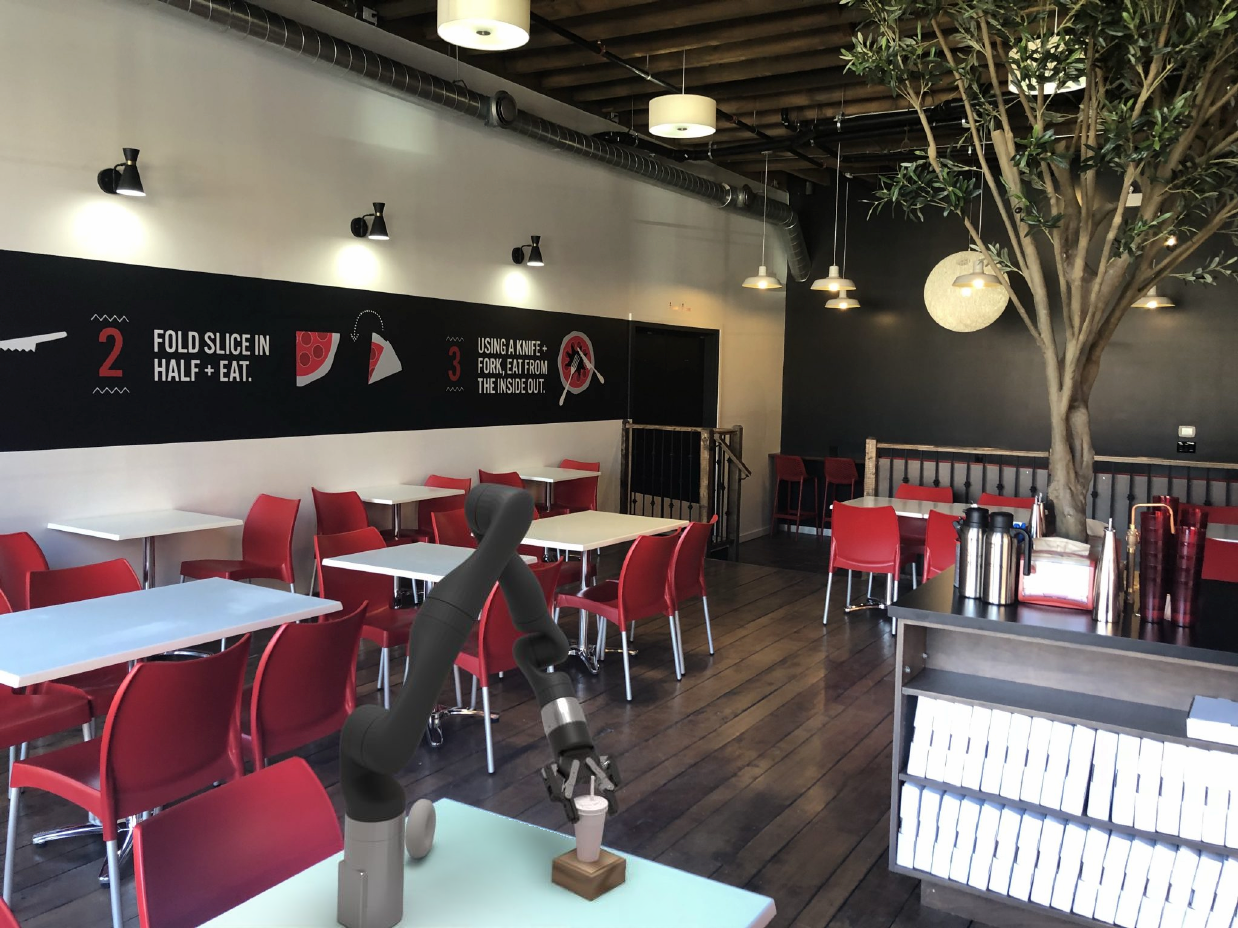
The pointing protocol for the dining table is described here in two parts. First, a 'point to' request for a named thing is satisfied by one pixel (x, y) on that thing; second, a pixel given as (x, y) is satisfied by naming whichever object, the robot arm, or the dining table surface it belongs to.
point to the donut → (420, 828)
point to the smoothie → (590, 825)
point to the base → (588, 873)
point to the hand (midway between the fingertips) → (595, 818)
